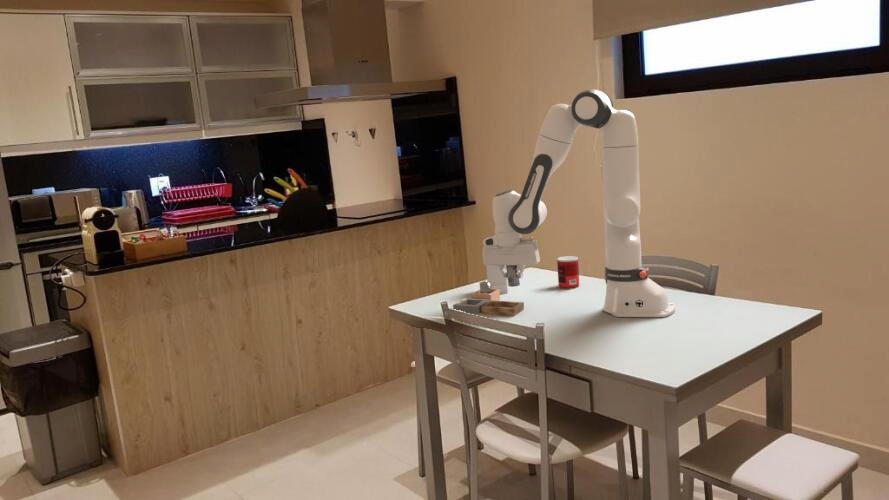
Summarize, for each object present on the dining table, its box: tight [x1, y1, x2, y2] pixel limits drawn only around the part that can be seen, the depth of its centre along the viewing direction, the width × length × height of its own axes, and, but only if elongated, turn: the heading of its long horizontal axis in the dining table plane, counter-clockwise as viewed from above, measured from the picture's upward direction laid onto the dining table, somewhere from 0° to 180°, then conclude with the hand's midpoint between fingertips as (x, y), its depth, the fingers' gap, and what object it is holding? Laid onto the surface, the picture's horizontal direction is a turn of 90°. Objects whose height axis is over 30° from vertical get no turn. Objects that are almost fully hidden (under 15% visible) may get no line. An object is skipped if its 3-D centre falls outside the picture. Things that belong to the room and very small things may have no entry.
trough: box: [481, 300, 525, 317], centre depth 231 cm, size 12×8×3 cm, turn 60°
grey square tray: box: [452, 297, 490, 315], centre depth 238 cm, size 10×9×3 cm
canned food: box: [556, 255, 580, 290], centre depth 258 cm, size 8×8×11 cm
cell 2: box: [506, 265, 520, 288], centre depth 236 cm, size 4×4×8 cm
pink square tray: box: [472, 288, 501, 301], centre depth 245 cm, size 7×7×4 cm
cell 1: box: [479, 279, 492, 294], centre depth 245 cm, size 4×4×8 cm
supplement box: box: [485, 265, 509, 295], centre depth 257 cm, size 7×7×13 cm
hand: (513, 277), depth 236 cm, fingers closed on cell 2, 4 cm apart
